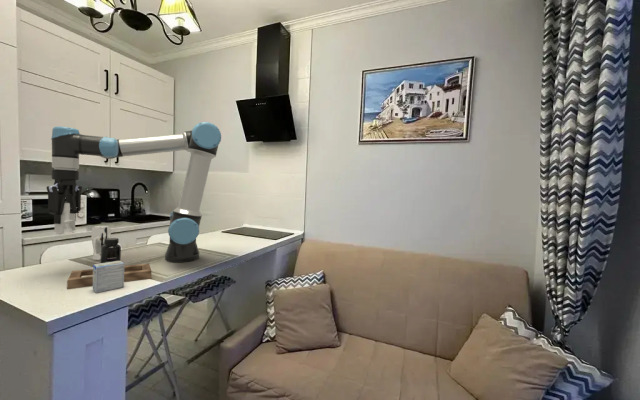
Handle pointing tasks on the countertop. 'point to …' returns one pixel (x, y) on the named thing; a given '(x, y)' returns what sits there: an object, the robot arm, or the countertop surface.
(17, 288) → the countertop surface
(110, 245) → the supplement bottle
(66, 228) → the candle
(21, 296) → the countertop surface
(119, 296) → the countertop surface
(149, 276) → the rack block
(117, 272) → the medicine box
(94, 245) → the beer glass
